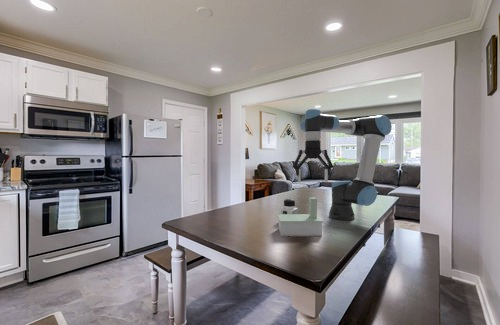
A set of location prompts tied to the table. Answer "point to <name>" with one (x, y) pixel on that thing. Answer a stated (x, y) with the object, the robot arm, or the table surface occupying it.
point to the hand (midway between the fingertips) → (312, 182)
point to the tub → (300, 229)
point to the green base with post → (303, 215)
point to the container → (289, 207)
